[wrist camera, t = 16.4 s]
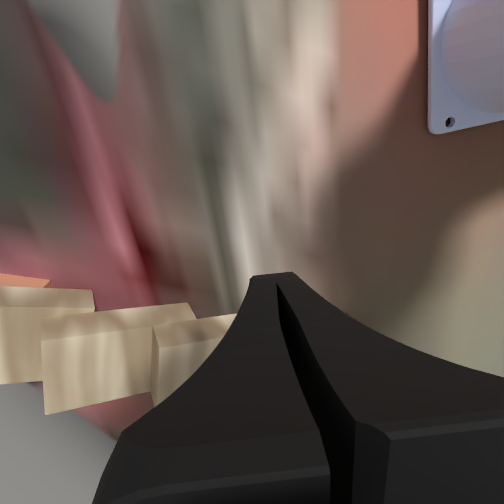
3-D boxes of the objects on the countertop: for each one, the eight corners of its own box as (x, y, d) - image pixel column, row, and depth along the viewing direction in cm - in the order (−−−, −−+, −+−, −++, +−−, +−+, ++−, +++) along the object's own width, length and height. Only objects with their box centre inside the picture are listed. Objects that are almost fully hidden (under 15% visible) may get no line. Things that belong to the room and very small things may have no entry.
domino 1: (94, 308, 19) (-104, 305, 15) (81, 377, 21) (-103, 393, 16) (91, 289, 21) (-89, 282, 16) (79, 355, 22) (-89, 364, 18)
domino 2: (197, 320, 20) (40, 341, 16) (187, 383, 22) (45, 415, 18) (187, 302, 22) (41, 317, 18) (178, 362, 24) (45, 387, 20)
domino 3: (291, 325, 21) (159, 348, 17) (277, 386, 23) (156, 418, 19) (276, 307, 23) (152, 325, 19) (264, 366, 24) (150, 392, 21)
